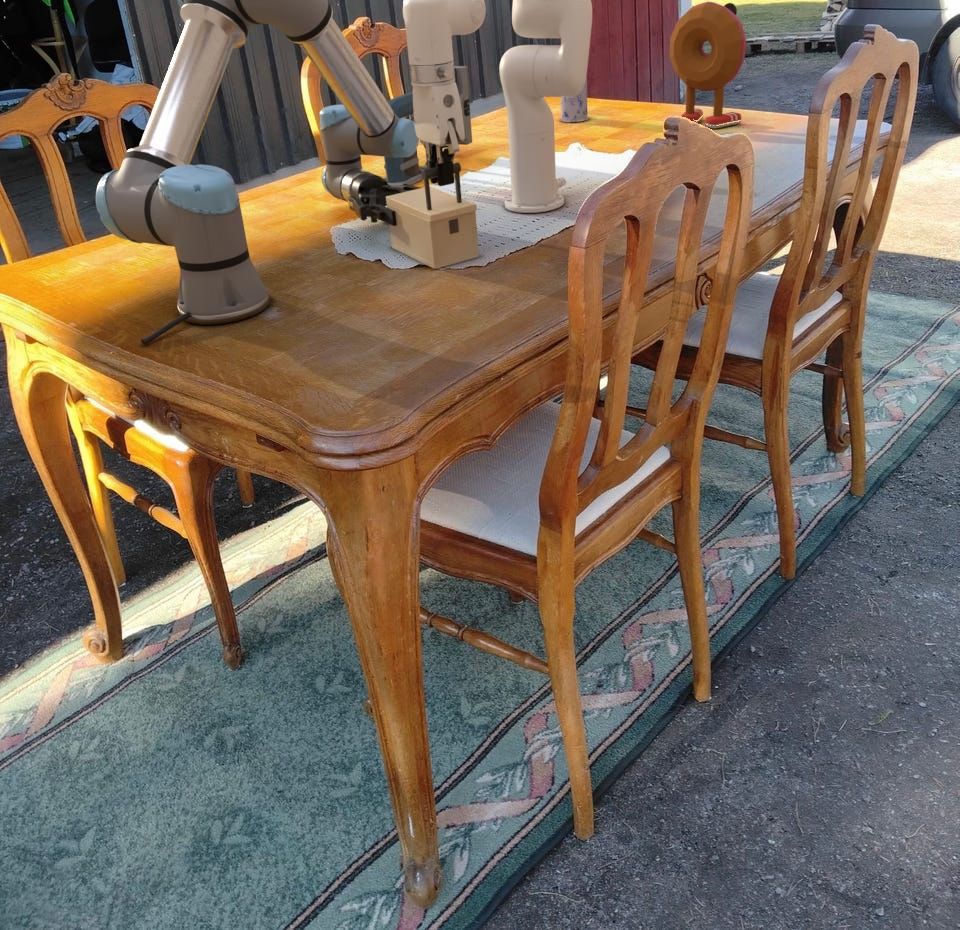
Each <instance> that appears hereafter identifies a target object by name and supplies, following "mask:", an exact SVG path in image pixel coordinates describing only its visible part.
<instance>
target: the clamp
mask: <svg viewBox="0 0 960 930" xmlns="http://www.w3.org/2000/svg"><path fill="white" fill-rule="evenodd" d="M454 71H455V83H456V85H457V89H458V93H459V97H460V103H461V109H462V116H463V124H464V134H465V139H464V141H463V142H458V144H459V146H460V145H463V146H468V145H470V144H472V143H473V132H472V131H473V130H472V119H471V107H470V105H471V104H470V93H469V91H470V90H469V79H468V67H467V65H454ZM387 102H388V103H389V105H390V106H391V108H392V110H393V111H394V112H395V114H396V116H397V117H398V118H405V119H410V120H412V121H413V122H414V117H413V118H412V117H411V118H410V116H411V115H412V114H413V90H412V91H410V92H407V93H405V94H401V95H398V96H396V97H394V98H391V99H389V100H387ZM445 142H448V140H445ZM424 151H425V152H426V149H425V148H424ZM383 160H384V166H383V168H384V170H385V177H382V178H383V179H385V181H386V182H387V183H388V185H390V186H391V187H400V188H403V184H409V185H411V186H413V185H414V184H416V183H418V182H421V181H422V180H423V178H422V176H421V171H422V170H425V169H429V161H430V160H428V159H427V155H426V154H425V160H426V161H425V163H424V164H425V166H423V165H419V157H418V147H417V148H416V151H415V153H414V154H413V155H411V156H410V157H396V158H393V157H384V156H383Z"/></svg>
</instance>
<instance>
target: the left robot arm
mask: <svg viewBox="0 0 960 930" xmlns="http://www.w3.org/2000/svg"><path fill="white" fill-rule="evenodd" d="M177 1H178V4H179V7H180V10H179V14H180V17H181V19H182V22H183V24H184V27H183V30H182V32H181V35H180V37H179V40H178V43H177V45H176V48H175V50H174V53H173V55H172V59H171V61H170V64H169V66H168V70H167V71H166V74H165V77H164V80H163V82H162V84H161V86H160V90H159V92H158V95H157V98H156V101H155V103H154V105H153V108H152V110H151V114H150V116H149V119H148V122H147V123H146V127H145V129H144V132H143V134H142V137H141V140H140V142H139V145H138V146H135V147H133V148H129V149H128V150H127V151H126V152H125V154H124V157H123V160H122V162H121V165H120V168H119V169H113V170H111V171H109V172H106V173H105V174H104V175H102V177H101V178H100V180H99V181H98V184H97V187H96V191H95V206H96V211H97V212H98V213H99V216H100V217H99V218H100V220H101V223H102V224H103V226H104V227H105V228H106V229H107V231H109V232H110V233H111V234H112V235H114V236H115V237H117V238H120V239H121V240H125V241H129V242H132V243H134V244H135V243H136V244H151V245H158V246H159V245H160V246H167V247H174V250H175V254H176V258H177V262H178V266H179V283H178V294H177V310H178V314H179V316H178V317H175V318H174V319H172V320H171V321H170V322H167V323H166V324H165V325H163V326H162V327H160V328H159V329H157V330H156V331H154V332H152V333H151V334H149V335H147V336H146V337H143V338H141V339H140V343H141V344H142V345H143V346H145V345H146V344H149V343H150V342H153V341H154V340H156V339H157V338H159V337H160V336H162V335H164V334H165V333H166V332H168V331H170V330H171V329H173V328H174V327H176V326H178V325H179V324H181V323H183V322H186V323H189V324H193V325H202V326H203V325H204V326H205V325H206V326H210V325H222V324H230V323H233V322H239V321H241V320H245V319H248V318H251V317H253V316H256V315H258V314H260V312H263V311H264V310H265V309H266V308H267V307H268V306H269V305H270V296H269V291H268V289H267V287H266V284H265V283H264V282H263V280H262V278H261V276H260V274H259V271H258V270H257V269H256V267H255V265H254V264H253V262H252V260H251V257H250V251H249V246H248V241H247V240H248V239H247V236H246V229H245V224H244V219H243V214H242V208H241V203H240V195H239V193H238V191H237V188H236V184H235V181H234V178H233V177H232V175H231V174H230V173H229V172H228V171H226V170H225V169H223V168H221V167H219V166H214V165H209V164H201V163H200V164H196V165H195V164H191V162H192V160H193V157H194V154H195V152H196V150H197V146H198V144H199V141H200V138H201V136H202V133H203V131H204V127H205V125H206V122H207V119H208V117H209V114H210V111H211V109H212V106H213V103H214V101H215V98H216V96H217V93H218V90H219V87H220V85H221V81H222V79H223V76H224V73H225V71H226V68H227V65H228V63H229V61H230V58H231V55H232V53H233V50H234V49H238V48H241V47H242V46H244V45H245V43H246V40H247V38H248V35H249V33H250V30H251V28H252V26H253V25H254V26H255V25H270V26H273V27H275V28H277V29H279V30H280V31H281V32H282V33H283V34H284V35H285V37H286V38H287V40H288V41H290V42H291V43H293V44H298V45H299V47H300V48H301V49H302V51H303V52H304V53H305V55H306V56H307V57H308V59H309V61H310V62H311V63H312V64H313V66H314V67H315V69H316V70H317V71H318V73H319V74H320V76H321V77H322V78H323V80H324V81H325V82H326V83H327V85H328V86H329V88H330V90H331V91H332V92H333V93H334V95H335V96H336V97H337V99H338V101H339V102H340V103H341V104H333V105H328V106H324V107H323V108H321V110H320V111H319V115H318V116H319V123H320V134H321V140H322V146H323V152H324V157H325V167H324V168H323V170H322V173H321V183H322V186H323V188H324V190H325V191H326V192H327V193H328V194H330V195H332V197H333V198H335V199H337V200H341V201H344V202H346V203H348V205H349V210H351V211H353V212H355V214H356V216H358V218H359V219H360V220H361V221H366V220H368V218H370V222H371V224H375V223H378V220H379V221H382V222H384V223H386V224H388V225H389V224H390V225H392V226H396V225H397V222H396V214H395V211H394V210H392V209H389V208H387V202H386V196H390V195H394V194H399V193H403V192H407V191H411V190H416V189H420V188H423V187H422V186H416V185H409V184H403V188H400V187H391V186H390V185H388V183H387V182H386V181H385V179H383V178H384V177H383V176H380V175H378V174H375V173H373V172H370V171H367V170H365V169H363V165H362V156H373V157H383V158H384V157H393V158H396V157H410V156H411V155H413V154H414V153H415V151H416V148H417V149H418V147H419V143H420V139H419V138H418V137H417V136H416V131H415V125H414V122H413V121H412V120H410V119H411V118H409V119H406V117H402V118H398V117H397V116H396V114H395V112H394V111H393V110H392V108H391V106H390V105H389V103H388V100H387V99H386V97H385V95H384V94H383V92H382V91H381V90H380V87H379V86H378V85H377V83H376V82H375V80H374V79H373V77H372V76H371V74H370V73H369V71H368V69H367V68H366V67H365V65H364V63H362V61H361V59H360V58H359V57H358V55H357V52H356V51H355V50H354V48H353V47H352V45H351V44H350V42H349V41H348V40H347V38H346V36H345V35H344V34H343V32H342V30H341V28H340V27H339V26H338V24H337V23H336V21H335V20H334V18H333V14H334V13H333V12H334V9H333V7H332V5H331V3H330V2H329V0H177Z"/></svg>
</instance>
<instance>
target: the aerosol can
mask: <svg viewBox="0 0 960 930" xmlns="http://www.w3.org/2000/svg"><path fill="white" fill-rule="evenodd" d="M560 113H561V115H560V116H561V117H560V121H561V122H563V123H580V122H584V121H587V120H589V116H588V75H587V76H586V81H585V85H584V87H583V89H582V91H581V92H580V93H579V94H578V95H576V96H574V97H560Z"/></svg>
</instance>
